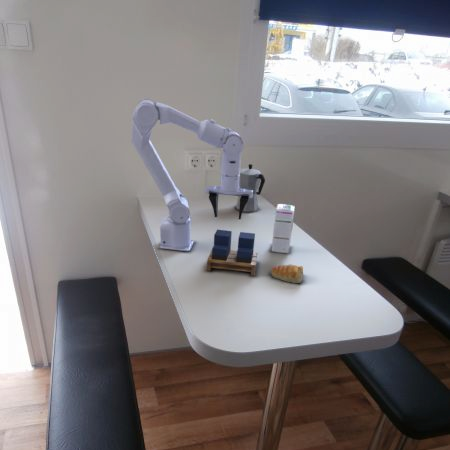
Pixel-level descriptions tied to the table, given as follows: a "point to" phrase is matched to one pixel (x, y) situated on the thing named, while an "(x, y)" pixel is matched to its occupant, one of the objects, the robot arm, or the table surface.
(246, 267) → the shoe rack
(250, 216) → the table surface
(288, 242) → the syrup box
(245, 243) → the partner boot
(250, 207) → the coffeepot
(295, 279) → the pastry
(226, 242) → the blue block
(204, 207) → the table surface
